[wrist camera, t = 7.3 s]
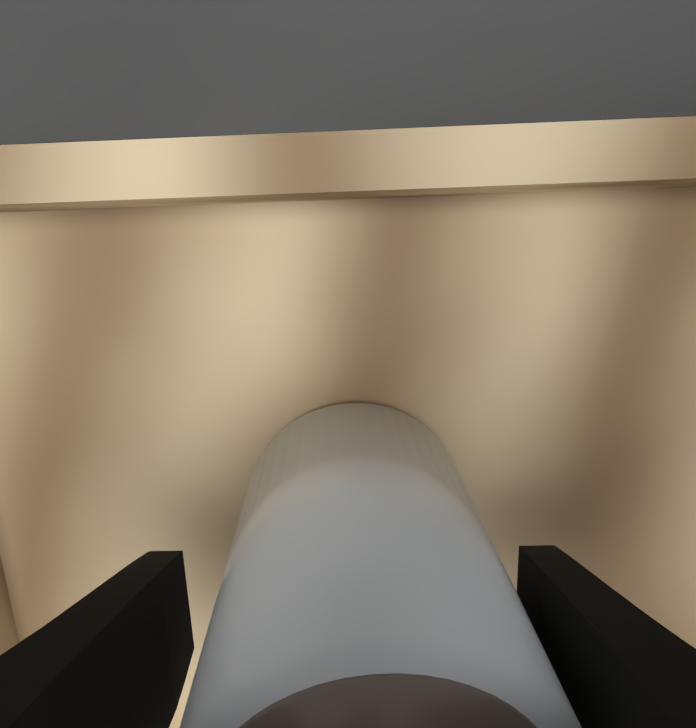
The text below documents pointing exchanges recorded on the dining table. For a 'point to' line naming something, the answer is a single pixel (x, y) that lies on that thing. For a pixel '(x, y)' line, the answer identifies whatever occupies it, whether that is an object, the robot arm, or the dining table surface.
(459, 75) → the dining table surface
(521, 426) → the tray
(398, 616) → the espresso cup
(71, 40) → the dining table surface
